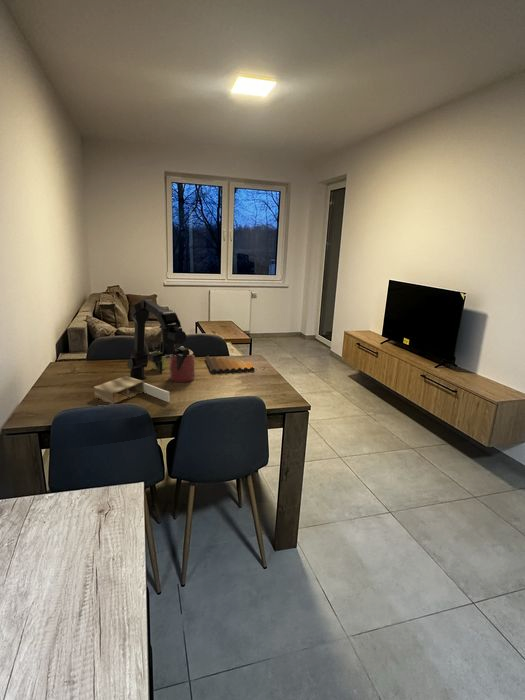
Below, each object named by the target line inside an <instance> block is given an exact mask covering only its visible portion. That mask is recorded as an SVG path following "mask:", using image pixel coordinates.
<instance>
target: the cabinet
mask: <svg viewBox="0 0 525 700" xmlns="http://www.w3.org/2000/svg"><path fill="white" fill-rule="evenodd" d="M143 382H144V380H138V379H135V378H131V376H127V375H125V376H122V377H118V378H115V379H113V380H110V381H107V382H104V383H102V384H101V383H100V384H99V385H95V386H93V390H94V398H95V397H97V398H100V399H102V400H105V401H107V402H111V403H113V402H114V399H113V397H114V395H113V394H114V393H118V394H121V395H124V396H127V397H129V395H131V396H133V395H135V394H138V393H140V394H142V393H141V392H143ZM129 391H130V392H129ZM138 395H139V394H138ZM135 396H136V395H135ZM133 397H134V396H133ZM107 402H106V403H107Z"/></svg>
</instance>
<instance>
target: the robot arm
mask: <svg viewBox="0 0 525 700" xmlns="http://www.w3.org/2000/svg"><path fill="white" fill-rule="evenodd" d="M150 314H152V315H154V316H155V317H156V318H157V320H156V321H157V322H158V323H159V324H160V326H159V329H161V340H160V343H159V344H158V343H157V342H154V343H152V344H151V348H152V351H153V352H154V353H152V352H150V353H147V352H146V351H145V350H146V349H145V341H146V340H145V336H146V334H145V333H146V323H147V321H148V320H149V319H150ZM130 316H131V318H132V320H133V322H134V340H133V342H134V344H133V345H134V346H133V350H132V351H131V353H130V358H129V359H128V361H127V363H126V365H127V366H126V367H127V368H128V369H130V372H129V373H130V377H131V378H135V379H138V380H141V381H143V380H145V379H147V376H145V368H147V367H148V364H149V361H150V362H154V363H155V365H156V367H157V369H158V370H157V371H158V373H159V375H162V374H163V370H162V361H161V360H162V358H163V357H166V358H168V357H170V356H173V355H176V357H177V370H178V371H179V370H180V368H181V366H182V363H183V362H184V360H185V358H186V357H187V355H190V351H189V350H190V349H189V348H187V347H184V346H183V347H181V346H179V347H176V345H177V344H178V345H182V344H184V343H185V342H186V340H187V334H186V332H185V331H183V328H182V325H181V321H180V320H179V317H178V315H177V313H176V311H174V310H172V309H167V308H166V309H165V308H163V306H160V305H159V304H158V303H156V302H155V301H154V300H153V299H151V298H147V299H146V298H145V299H141V300H140V301H139V302H137V303H135V304H134V305H132V307H131V308H130ZM175 349H176V350H175ZM156 352H162V353H161V354H159V353H156ZM142 379H143V380H142Z"/></svg>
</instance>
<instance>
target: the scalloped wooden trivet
mask: <svg viewBox="0 0 525 700" xmlns="http://www.w3.org/2000/svg"><path fill="white" fill-rule="evenodd" d="M204 359H205V362H206V363H207V366H208V368H209V371H210V372H211V374H212V375H214V374H215V375H216V374H223V373H224V374H230V373H232V374H233V373H235V372H236V373H248V372H250V371H254V372H255V371H256V370H255V369H256V368H255V366H254V365H252V363H251V362H249V361H246V362H244V361H243V360H240V361H238V360H236V359H233V360H231V359H229V358H228V357H227V358H225V359H224V358H222V357H219V358H217V357H216V356H213V357H211V356H210V355H206V356H205V357H204ZM242 370H243V371H242ZM247 371H248V372H247Z"/></svg>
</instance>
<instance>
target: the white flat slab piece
mask: <svg viewBox="0 0 525 700" xmlns="http://www.w3.org/2000/svg"><path fill="white" fill-rule="evenodd" d="M143 392H144V393H143V394H146V393H147V394H146V395H150V396H152V397H155V398H157V399H159V400H162V401H164V402H167V403H169V402H170V399H171V398H170V391H169V390H165V389H163V388H159V387H157V386H155V385H152V384H149V383H146V382H145V381H143Z"/></svg>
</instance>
